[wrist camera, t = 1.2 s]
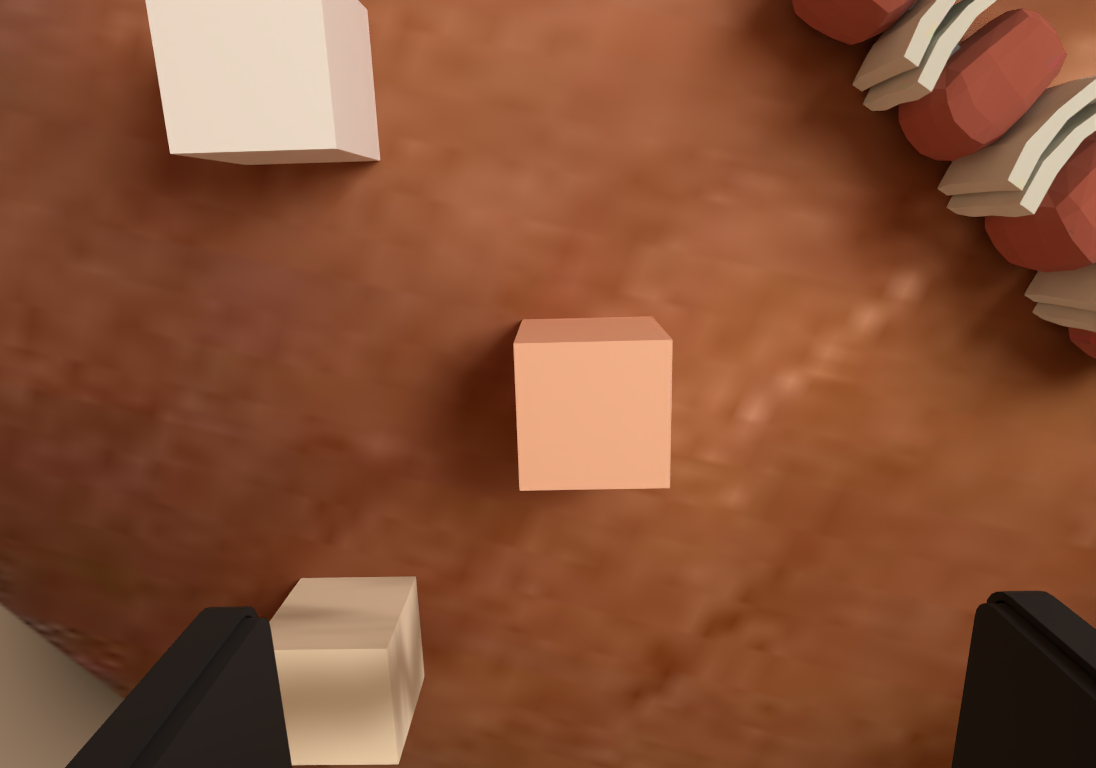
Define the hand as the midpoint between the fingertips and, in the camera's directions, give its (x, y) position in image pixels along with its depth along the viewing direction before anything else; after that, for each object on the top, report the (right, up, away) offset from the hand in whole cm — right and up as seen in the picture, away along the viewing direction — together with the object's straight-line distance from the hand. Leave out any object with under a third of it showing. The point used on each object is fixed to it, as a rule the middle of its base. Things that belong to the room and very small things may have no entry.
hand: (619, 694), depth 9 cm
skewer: (+15, +12, +16) cm, 25 cm away
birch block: (-9, -7, +21) cm, 23 cm away
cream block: (-10, +15, +15) cm, 23 cm away
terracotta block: (+1, +4, +18) cm, 18 cm away
